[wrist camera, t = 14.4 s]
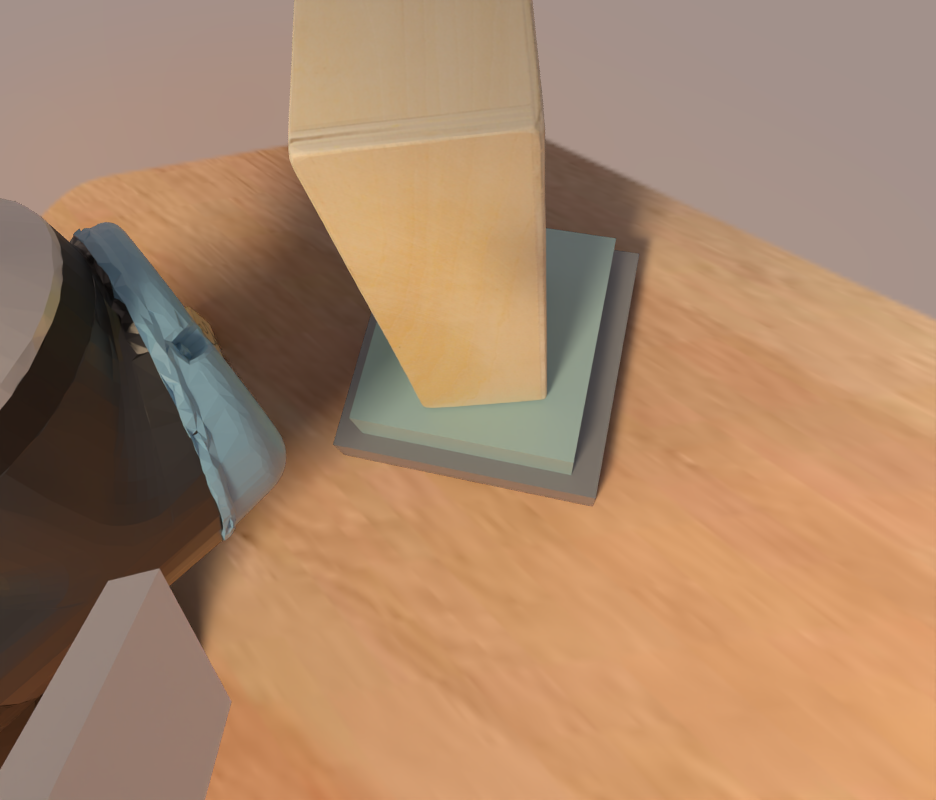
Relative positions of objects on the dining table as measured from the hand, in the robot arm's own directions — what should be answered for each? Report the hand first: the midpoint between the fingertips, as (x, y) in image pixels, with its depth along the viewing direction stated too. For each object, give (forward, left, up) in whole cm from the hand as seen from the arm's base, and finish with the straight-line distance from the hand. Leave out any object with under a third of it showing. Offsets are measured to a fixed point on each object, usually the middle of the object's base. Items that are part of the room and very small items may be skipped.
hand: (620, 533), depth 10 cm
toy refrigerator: (-7, +13, -25) cm, 29 cm away
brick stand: (-7, +13, -30) cm, 34 cm away
